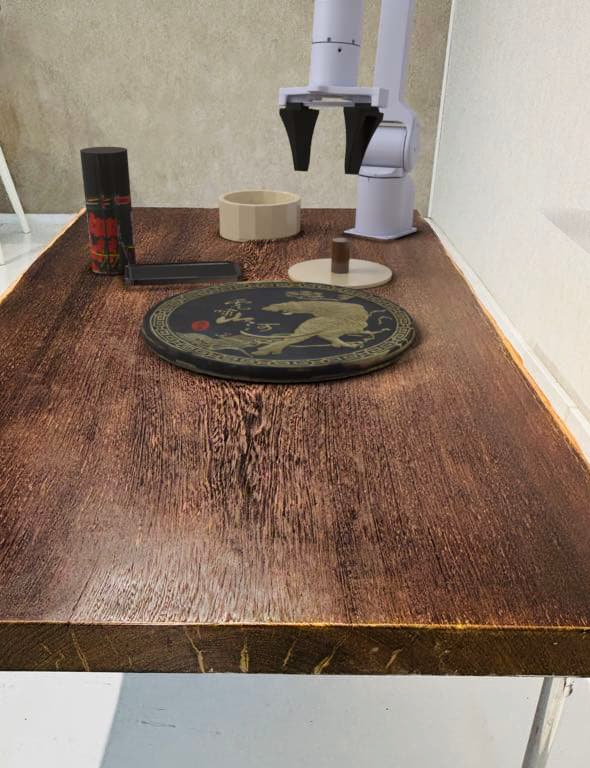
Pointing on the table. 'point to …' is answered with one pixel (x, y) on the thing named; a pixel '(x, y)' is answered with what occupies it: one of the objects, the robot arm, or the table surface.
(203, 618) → the table surface
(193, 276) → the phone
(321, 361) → the decorative plate
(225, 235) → the container
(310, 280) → the cover
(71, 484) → the table surface
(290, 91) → the robot arm
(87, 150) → the deodorant
